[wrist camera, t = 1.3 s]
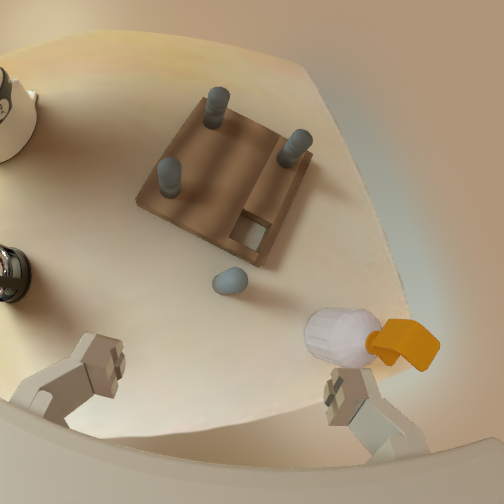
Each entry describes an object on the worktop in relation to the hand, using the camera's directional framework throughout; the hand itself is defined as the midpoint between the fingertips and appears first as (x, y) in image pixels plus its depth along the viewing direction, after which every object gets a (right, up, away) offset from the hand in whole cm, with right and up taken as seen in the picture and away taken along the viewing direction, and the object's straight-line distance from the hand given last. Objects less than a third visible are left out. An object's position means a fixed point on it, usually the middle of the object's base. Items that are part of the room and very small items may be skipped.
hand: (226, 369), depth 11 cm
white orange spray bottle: (+14, -10, +41) cm, 44 cm away
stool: (-3, +17, +41) cm, 44 cm away
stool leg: (-4, -1, +38) cm, 38 cm away
